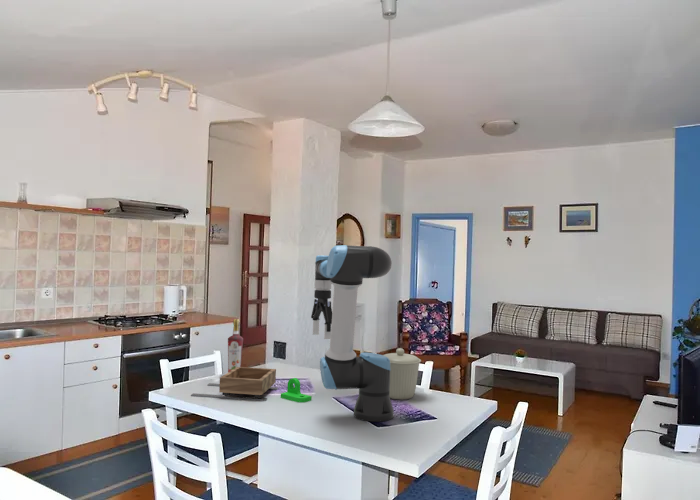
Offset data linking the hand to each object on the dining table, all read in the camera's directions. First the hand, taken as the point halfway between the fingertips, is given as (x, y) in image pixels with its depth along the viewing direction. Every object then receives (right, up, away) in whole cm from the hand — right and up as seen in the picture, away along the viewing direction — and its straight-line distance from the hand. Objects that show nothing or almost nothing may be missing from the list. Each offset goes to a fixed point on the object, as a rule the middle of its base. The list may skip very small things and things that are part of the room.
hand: (321, 336), depth 234 cm
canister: (+34, -25, -8) cm, 43 cm away
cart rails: (-36, -22, -9) cm, 44 cm away
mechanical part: (-10, -24, -17) cm, 31 cm away
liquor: (-43, -23, +17) cm, 52 cm away
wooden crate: (-31, -23, -10) cm, 40 cm away
